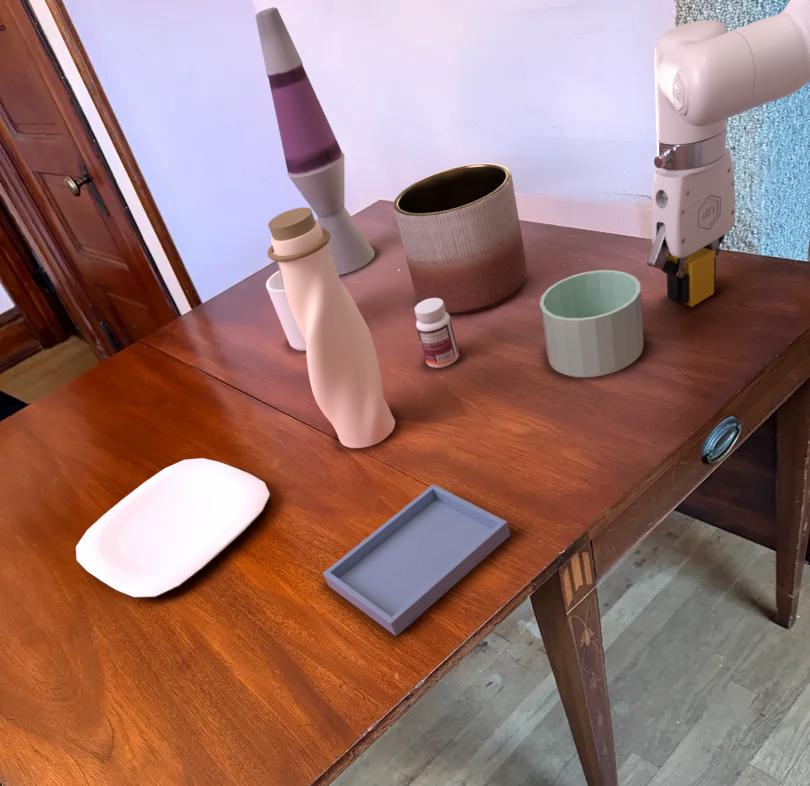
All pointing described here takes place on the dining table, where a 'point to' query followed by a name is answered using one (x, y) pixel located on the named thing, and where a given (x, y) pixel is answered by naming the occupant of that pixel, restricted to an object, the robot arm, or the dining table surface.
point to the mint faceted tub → (593, 323)
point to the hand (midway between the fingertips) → (691, 291)
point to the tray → (416, 557)
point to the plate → (171, 527)
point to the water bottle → (330, 331)
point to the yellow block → (700, 275)
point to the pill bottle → (436, 333)
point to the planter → (463, 237)
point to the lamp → (310, 144)
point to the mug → (285, 312)
